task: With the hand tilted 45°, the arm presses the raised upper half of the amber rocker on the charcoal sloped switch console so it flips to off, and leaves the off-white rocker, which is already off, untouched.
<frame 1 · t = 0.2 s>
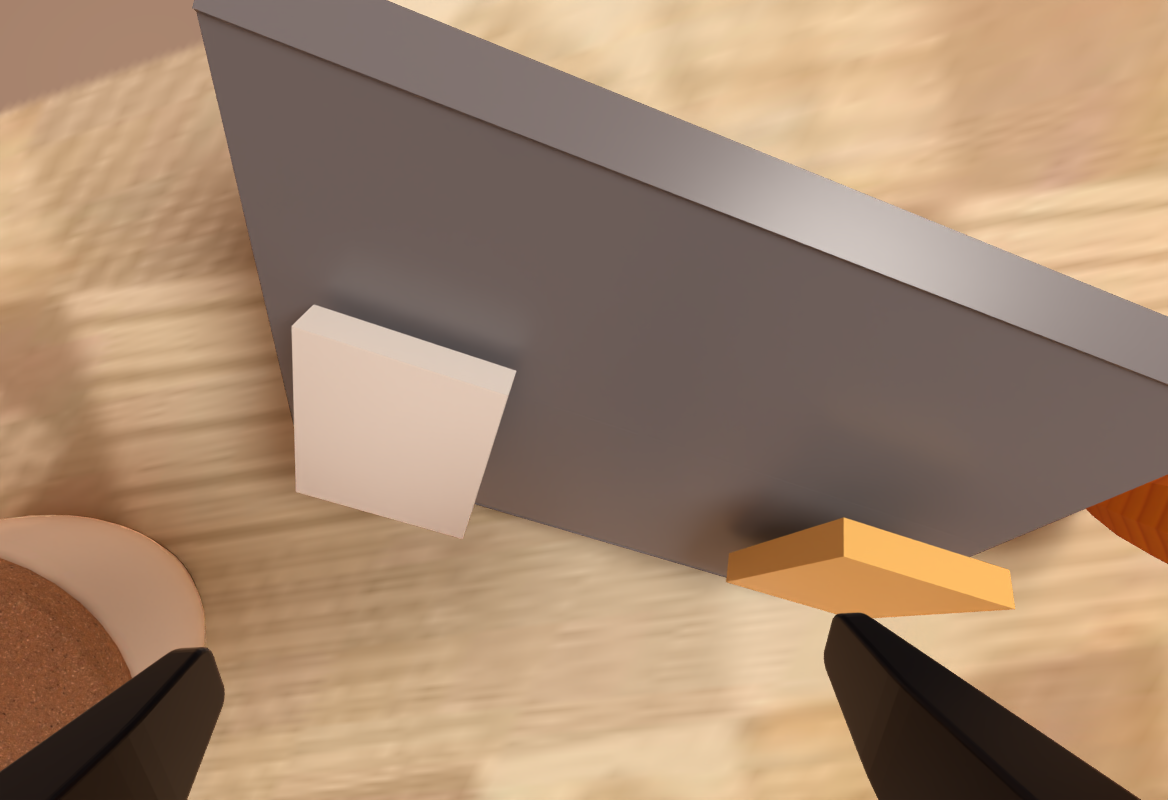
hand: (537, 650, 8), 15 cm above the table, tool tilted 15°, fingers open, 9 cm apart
carrot: (1066, 480, 26), on the table
lidded jar: (125, 600, 23), on the table
switch console: (619, 403, 23), on the table
off-white rocker: (397, 436, 14), point 8 cm above the table, hinge at 12.0°
amber rocker: (849, 576, 16), point 8 cm above the table, hinge at -12.0°
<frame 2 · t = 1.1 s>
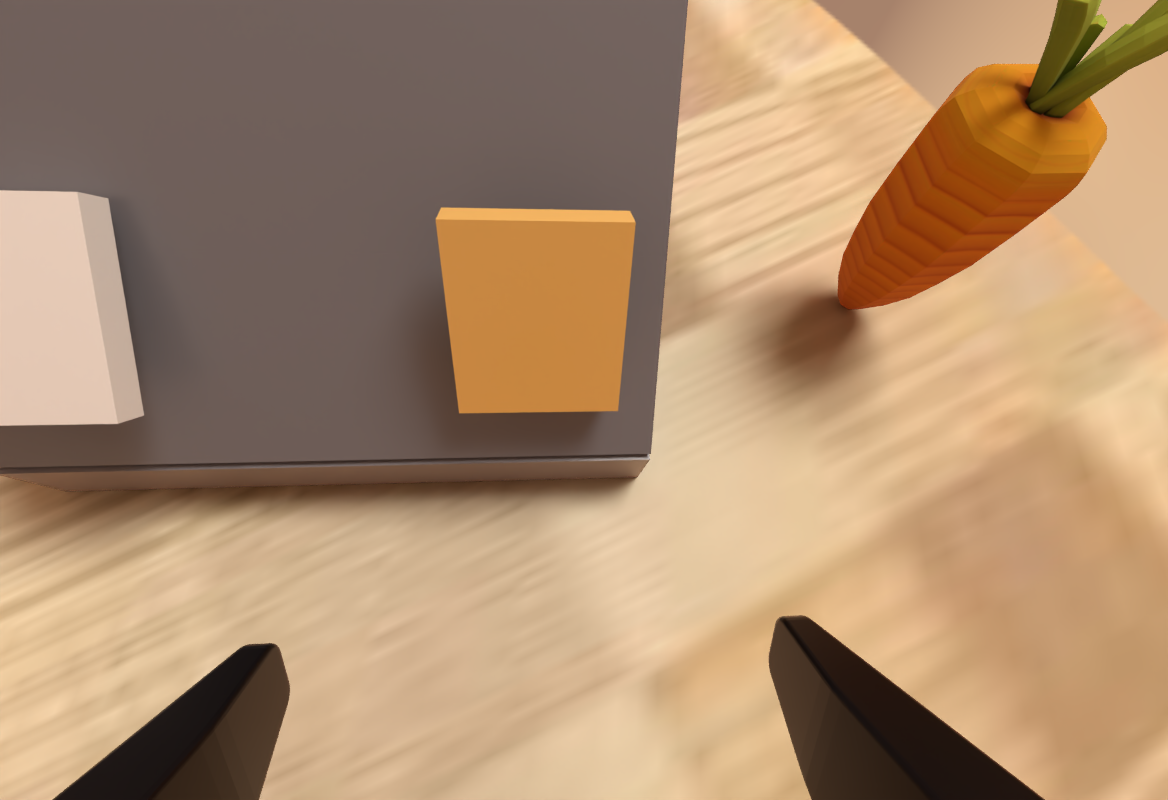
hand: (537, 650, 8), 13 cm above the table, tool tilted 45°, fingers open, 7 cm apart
carrot: (842, 306, 26), on the table
switch console: (376, 367, 23), on the table
off-white rocker: (13, 311, 14), point 8 cm above the table, hinge at 12.0°
amber rocker: (538, 319, 16), point 8 cm above the table, hinge at -12.0°
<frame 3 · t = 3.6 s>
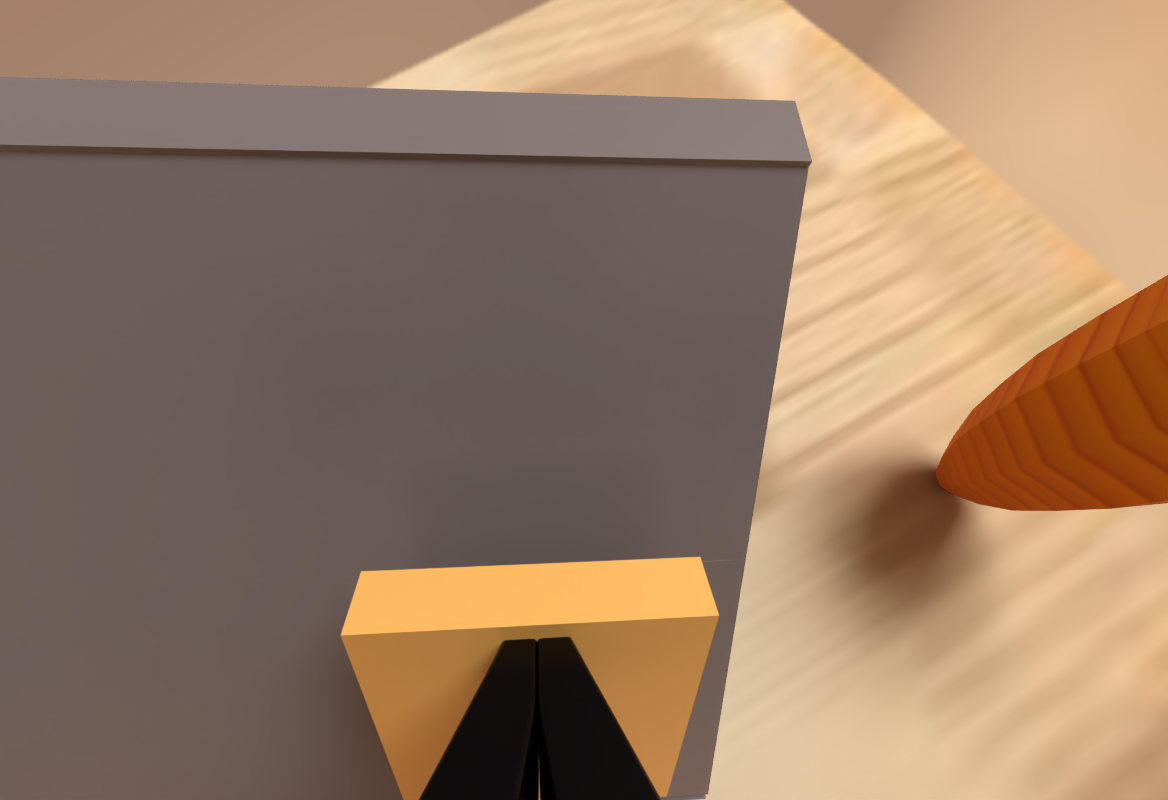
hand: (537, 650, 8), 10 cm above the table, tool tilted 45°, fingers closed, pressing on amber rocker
carrot: (938, 482, 20), on the table
switch console: (314, 602, 17), on the table
amber rocker: (538, 702, 9), point 8 cm above the table, hinge at -11.8°, touching gripper
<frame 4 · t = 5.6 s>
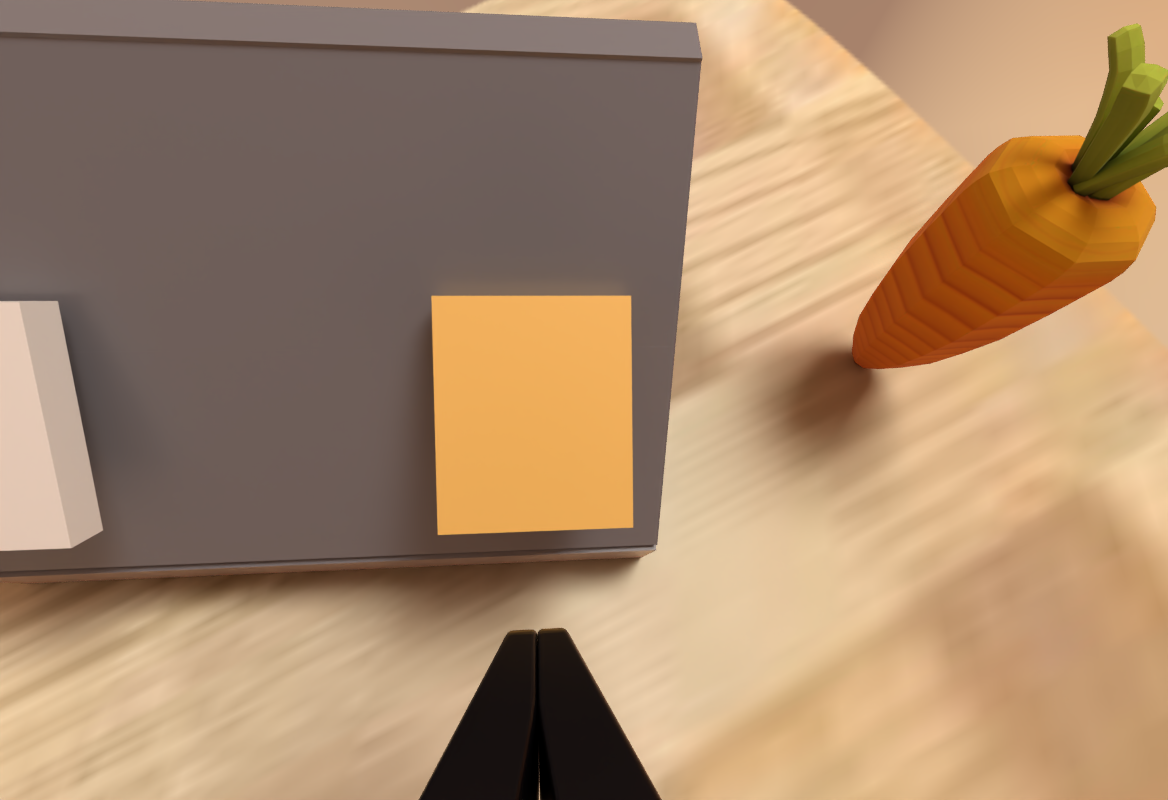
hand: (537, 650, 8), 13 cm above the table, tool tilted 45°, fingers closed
carrot: (856, 363, 25), on the table
switch console: (363, 438, 22), on the table
amber rocker: (535, 413, 14), point 8 cm above the table, hinge at 21.2°, touching switch console
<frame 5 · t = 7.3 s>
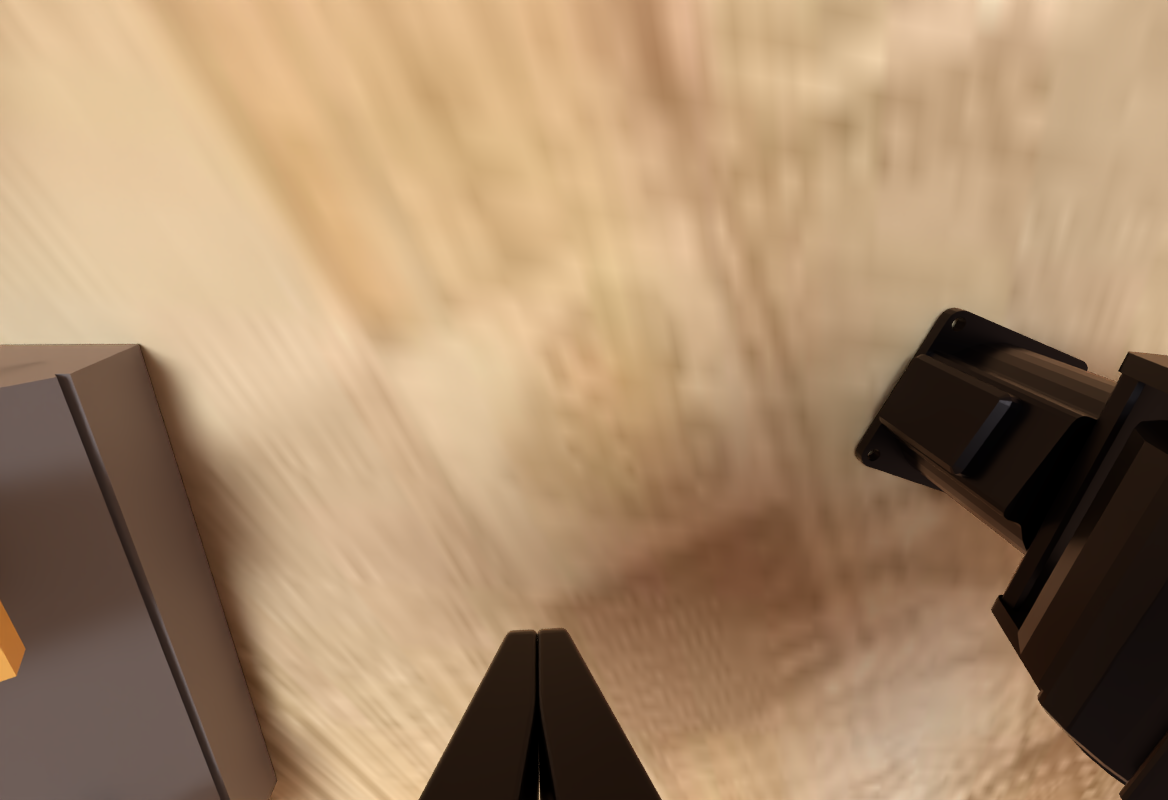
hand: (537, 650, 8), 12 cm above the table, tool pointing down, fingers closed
switch console: (86, 611, 21), on the table
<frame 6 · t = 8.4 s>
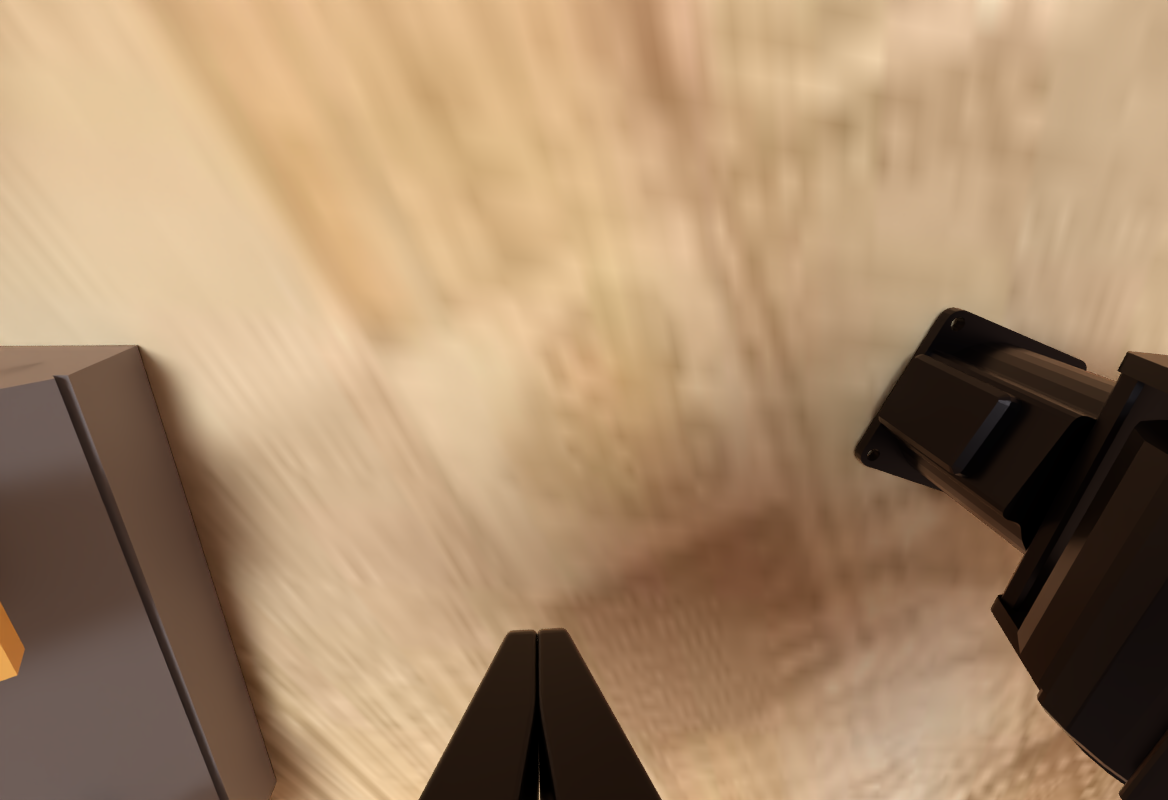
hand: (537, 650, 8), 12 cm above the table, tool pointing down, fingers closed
switch console: (84, 613, 21), on the table
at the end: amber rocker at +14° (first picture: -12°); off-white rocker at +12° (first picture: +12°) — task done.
